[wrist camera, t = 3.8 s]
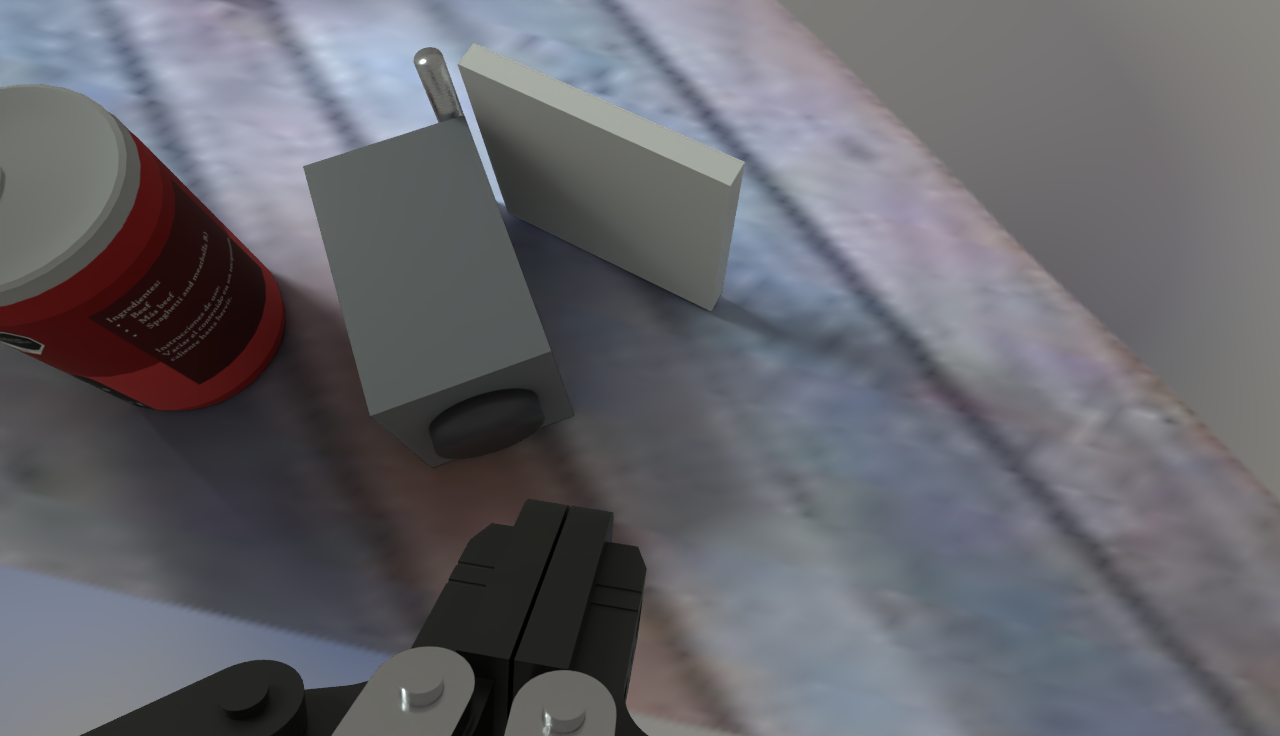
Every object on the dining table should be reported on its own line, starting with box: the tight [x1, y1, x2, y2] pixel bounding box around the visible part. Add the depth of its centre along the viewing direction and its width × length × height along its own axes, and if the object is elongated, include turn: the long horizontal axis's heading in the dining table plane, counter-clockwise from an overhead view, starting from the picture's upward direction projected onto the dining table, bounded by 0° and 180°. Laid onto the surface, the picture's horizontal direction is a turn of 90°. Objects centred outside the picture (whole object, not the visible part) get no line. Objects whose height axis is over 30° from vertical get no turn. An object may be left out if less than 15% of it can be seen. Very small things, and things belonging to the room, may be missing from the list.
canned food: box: [0, 84, 285, 410], centre depth 28 cm, size 8×8×11 cm
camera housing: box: [303, 47, 574, 468], centre depth 28 cm, size 12×6×9 cm, turn 21°
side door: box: [458, 43, 745, 311], centre depth 29 cm, size 10×2×9 cm, turn 61°
